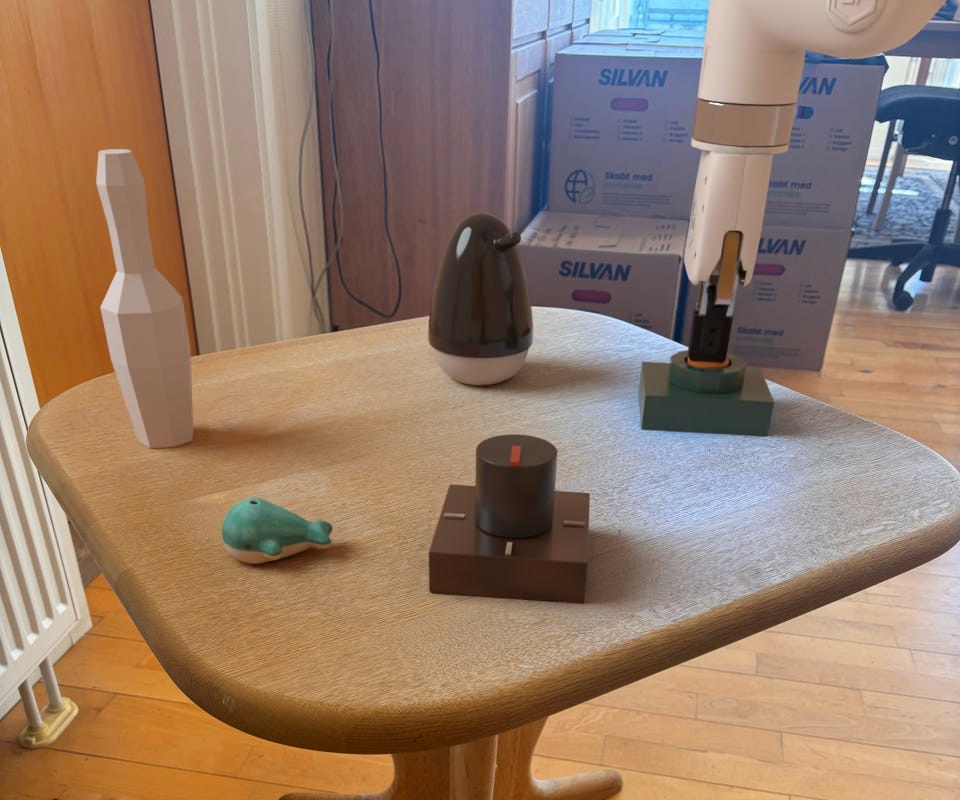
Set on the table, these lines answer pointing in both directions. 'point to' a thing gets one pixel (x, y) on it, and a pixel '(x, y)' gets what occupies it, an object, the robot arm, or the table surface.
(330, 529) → the whale figurine
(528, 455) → the dial
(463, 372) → the pump dispenser
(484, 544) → the dial panel
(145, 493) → the table surface
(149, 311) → the low poly bottle
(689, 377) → the green button base
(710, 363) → the orange push button
